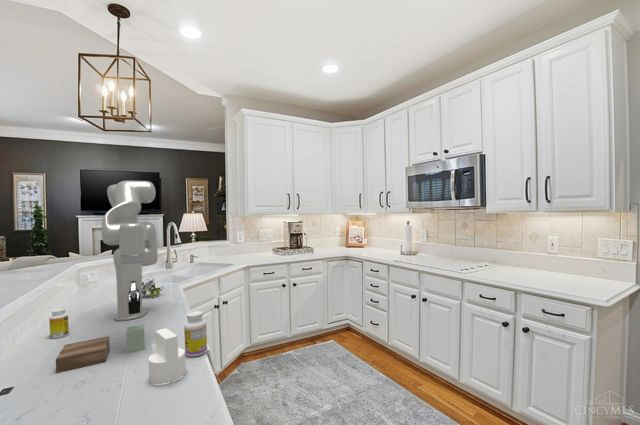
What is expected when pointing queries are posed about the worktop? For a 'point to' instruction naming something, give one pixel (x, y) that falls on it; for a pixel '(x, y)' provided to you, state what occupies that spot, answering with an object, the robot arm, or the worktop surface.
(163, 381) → the base with upright slab
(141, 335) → the sage block
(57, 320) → the supplement bottle
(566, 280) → the worktop surface
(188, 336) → the supplement bottle
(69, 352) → the walnut base
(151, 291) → the passion flower
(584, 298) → the worktop surface
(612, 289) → the worktop surface
